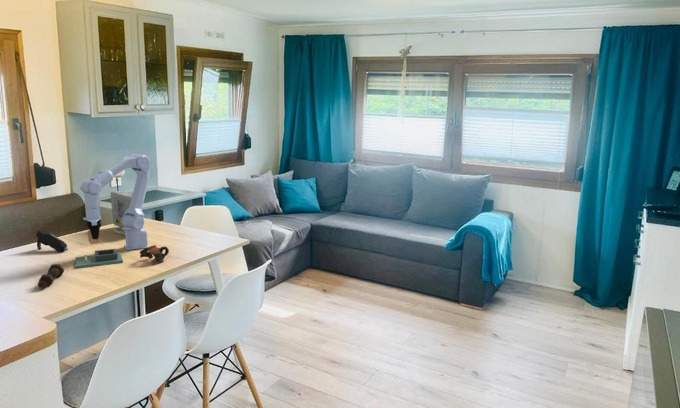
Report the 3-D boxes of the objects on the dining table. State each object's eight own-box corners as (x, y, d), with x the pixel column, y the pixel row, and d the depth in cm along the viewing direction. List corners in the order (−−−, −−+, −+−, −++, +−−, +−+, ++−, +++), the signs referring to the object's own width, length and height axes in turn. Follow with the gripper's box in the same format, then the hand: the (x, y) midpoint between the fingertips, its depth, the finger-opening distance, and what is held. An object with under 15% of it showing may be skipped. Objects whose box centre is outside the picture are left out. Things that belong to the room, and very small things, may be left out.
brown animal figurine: (146, 268, 213) (138, 250, 214) (144, 271, 222) (136, 254, 222) (173, 256, 219) (165, 239, 220) (170, 260, 228) (162, 243, 228)
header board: (120, 254, 229) (119, 246, 229) (122, 262, 218) (122, 254, 217) (75, 259, 221) (74, 251, 220) (76, 268, 210) (75, 260, 209)
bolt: (40, 294, 187) (56, 279, 202) (52, 287, 188) (67, 272, 202) (30, 282, 186) (46, 267, 200) (42, 275, 186) (57, 261, 200)
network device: (147, 234, 262) (145, 196, 258) (131, 237, 255) (128, 199, 251) (124, 225, 278) (121, 189, 274) (108, 228, 272) (105, 192, 268)
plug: (100, 240, 226) (99, 227, 225) (100, 243, 222) (99, 229, 221) (88, 241, 224) (87, 228, 222) (88, 244, 220) (87, 230, 219)
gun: (59, 263, 232) (66, 246, 229) (30, 245, 233) (37, 227, 230) (64, 261, 235) (71, 244, 232) (35, 244, 236) (42, 226, 233)
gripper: (82, 204, 224) (84, 234, 227) (82, 211, 212) (85, 242, 215) (99, 203, 228) (102, 232, 230) (101, 210, 215) (103, 241, 218)
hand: (95, 237), depth 223 cm, fingers closed on plug, 4 cm apart
